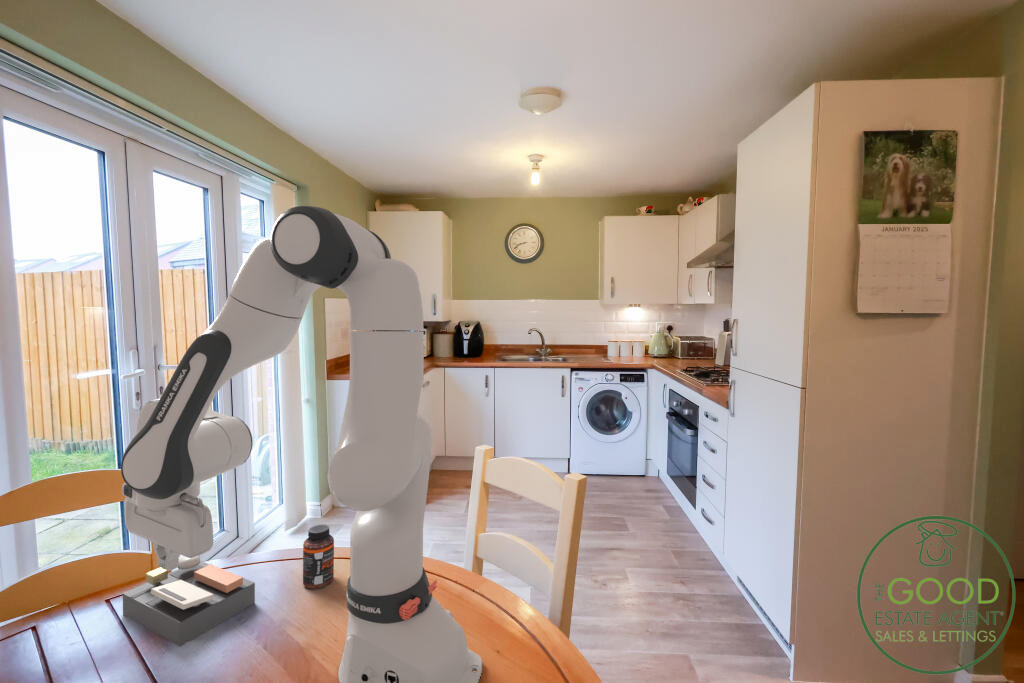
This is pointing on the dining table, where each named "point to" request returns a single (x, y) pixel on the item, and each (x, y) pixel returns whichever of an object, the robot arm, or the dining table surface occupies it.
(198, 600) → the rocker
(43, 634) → the dining table surface
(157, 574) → the slider knob
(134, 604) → the panel
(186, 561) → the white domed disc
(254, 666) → the dining table surface
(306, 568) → the supplement bottle
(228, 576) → the terracotta button
